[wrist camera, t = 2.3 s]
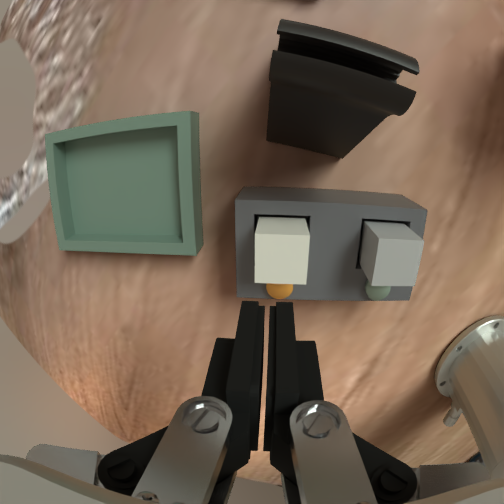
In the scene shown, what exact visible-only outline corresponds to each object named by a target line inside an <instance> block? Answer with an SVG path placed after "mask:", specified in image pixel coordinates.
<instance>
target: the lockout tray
mask: <svg viewBox="0 0 504 504" xmlns="http://www.w3.org/2000/svg"><path fill="white" fill-rule="evenodd" d="M45 145H46V160H47V171H48V181H49V190H50V197H51V205H52V211H53V217H54V223H55V229H56V234H57V240H58V245H59V249H60V250H69V251H92V252H116V253H141V254H167V255H193V256H196V255H197V254H198V252H199V251H200V249H201V248H202V246H203V228H202V208H201V183H200V149H199V113H197V112H193V111H183V112H172V113H162V114H153V115H145V116H137V117H130V118H123V119H117V120H111V121H105V122H100V123H94V124H89V125H84V126H79V127H74V128H70V129H65V130H61V131H57V132H53V133H49V134H45Z"/></svg>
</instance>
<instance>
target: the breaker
mask: <svg viewBox="0 0 504 504" xmlns="http://www.w3.org/2000/svg"><path fill="white" fill-rule="evenodd" d="M423 245H424V240H423V239H422V238H420V237H419V236H418V235H417V234H416V233H415V232H413V231H412V230H411V229H410V228H409V227H407V226H406V225H405V224H404V223H390V222H374V221H364V224H363V233H362V241H361V249H360V256H359V264H360V266H361V267H362V269H363V271H364V273H365V275H366V277H367V279H368V280H369V282H370V284H371V286H415V282H416V278H417V274H418V269H419V265H420V260H421V255H422V250H423Z"/></svg>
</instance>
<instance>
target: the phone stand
mask: <svg viewBox="0 0 504 504" xmlns="http://www.w3.org/2000/svg"><path fill="white" fill-rule="evenodd" d="M277 34H279V35H280V38H279V46H278V50H277V51H276V50H273V53H272V58H271V65H270V73H269V81H270V82H271V87H270V100H269V112H268V125H267V137H266V141H270V142H275V143H280V144H284V145H289V146H294V147H298V148H302V149H307V150H311V151H315V152H319V153H323V154H327V155H331V156H334V157H338V158H342V159H343V158H344V157H345V156H346V155H347V154H348V153H349V152H350V151H351V150H352V149H353V148H354V147H355V146H356V145H357V144H359V143H360V142H361V141H362V140H363V139H364V138H365V137H366V136H367V135H368V134H369V133H370V132H371V131H372V130H373V129H374V128H376V127H377V126H378V125H379V124H380V123H381V122H382V121H383V120H384V119H385V118H386V117H388V116H389V115H393V114H395V115H398V116H401V115H403V114H404V113H405V112H406V111H407V110H408V109H409V107H410V106H411V104H412V102H413V100H414V97H415V95H416V91H414V90H411V89H409V88H406V87H404V86H401V85H399V84H397V83H396V79H397V78H398V77H399V75H400V73H401V72H402V70H405V71H408V72H410V73H412V74H415V75H417V74H418V73H419V65H418V62H417V60H416V59H415V58H413V57H410V56H408V55H406V54H403V53H401V52H398V51H396V50H393V49H390V48H388V47H385V46H382V45H379V44H376V43H374V42H371V41H368V40H365V39H361V38H358V37H355V36H352V35H348V34H345V33H341V32H338V31H334V30H330V29H326V28H322V27H318V26H314V25H309V24H305V23H300V22H295V21H290V20H284V19H281V20H280V23H279V26H278V29H277Z"/></svg>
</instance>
